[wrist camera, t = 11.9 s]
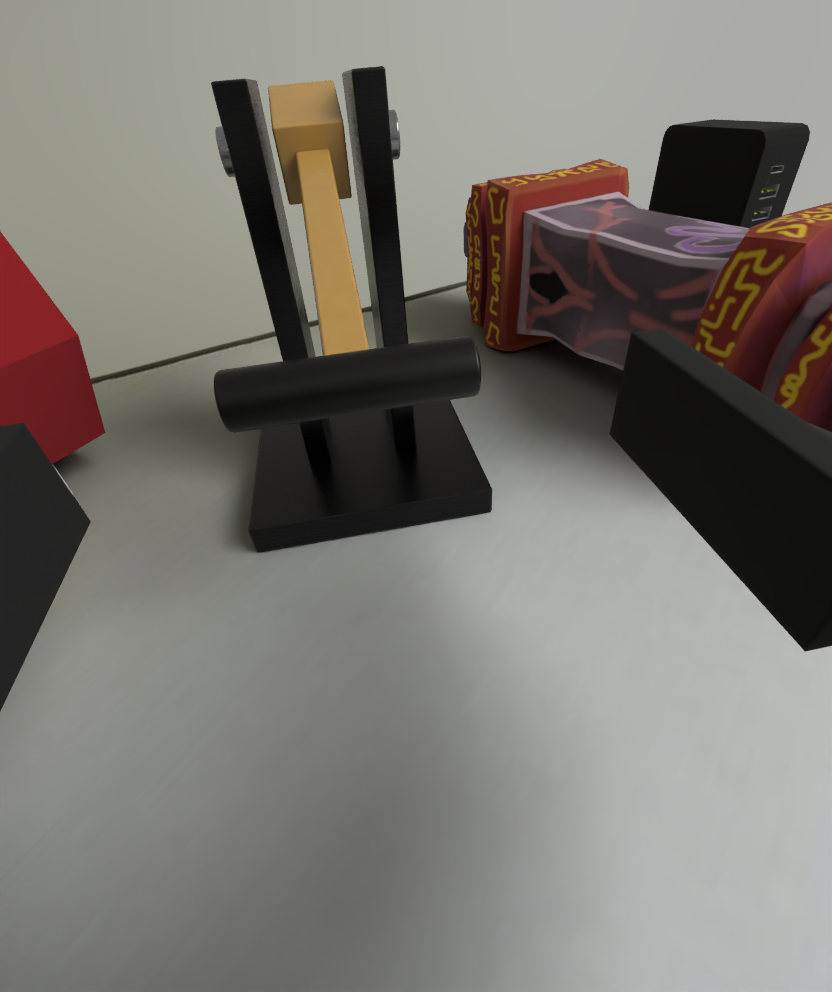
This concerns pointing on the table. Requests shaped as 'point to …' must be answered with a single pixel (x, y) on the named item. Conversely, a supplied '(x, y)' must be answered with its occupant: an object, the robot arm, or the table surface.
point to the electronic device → (728, 170)
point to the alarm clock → (42, 365)
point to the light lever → (334, 299)
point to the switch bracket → (327, 442)
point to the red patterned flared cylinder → (653, 280)
